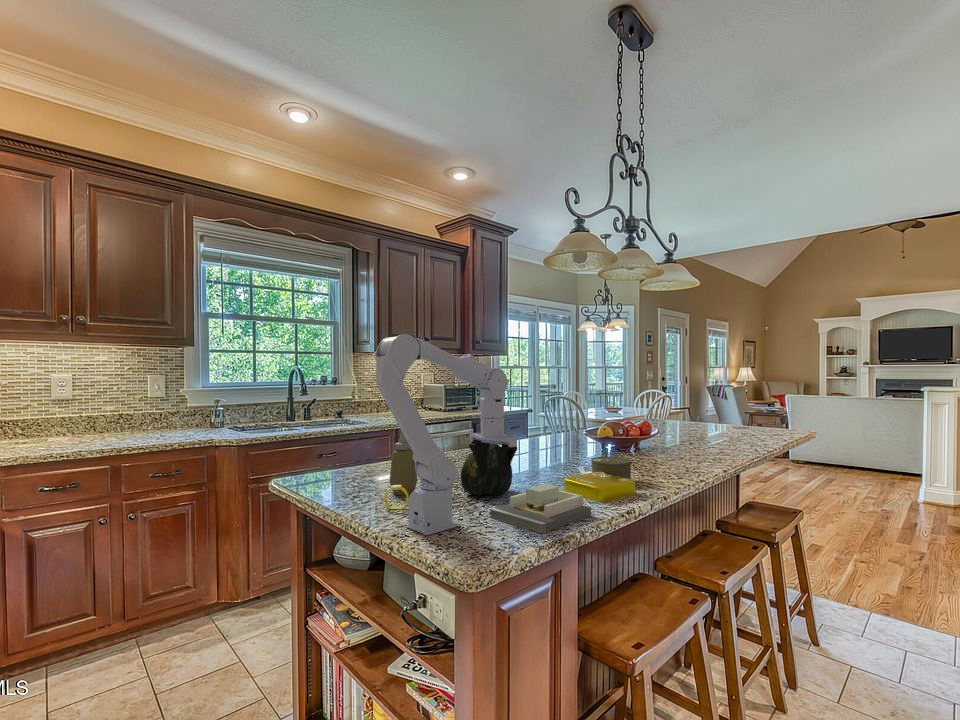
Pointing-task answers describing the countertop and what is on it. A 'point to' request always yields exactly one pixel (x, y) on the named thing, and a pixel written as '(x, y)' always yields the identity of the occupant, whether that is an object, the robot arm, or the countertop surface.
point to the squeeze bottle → (403, 467)
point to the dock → (542, 512)
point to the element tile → (600, 486)
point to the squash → (485, 475)
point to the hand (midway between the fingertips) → (492, 473)
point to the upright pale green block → (542, 495)
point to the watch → (396, 487)
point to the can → (612, 466)
